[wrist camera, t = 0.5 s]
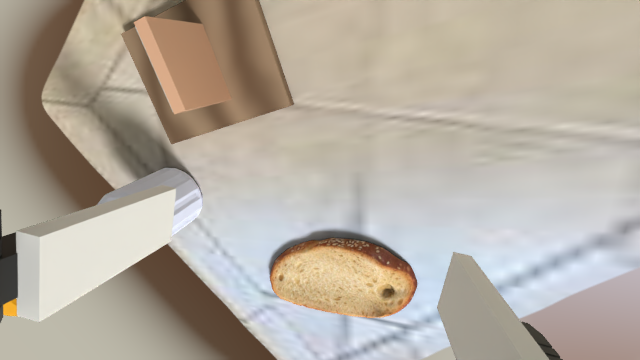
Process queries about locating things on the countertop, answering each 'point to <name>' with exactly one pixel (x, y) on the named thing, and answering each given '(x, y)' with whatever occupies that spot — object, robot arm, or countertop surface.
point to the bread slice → (344, 278)
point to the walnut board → (221, 66)
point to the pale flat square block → (183, 63)
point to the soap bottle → (186, 188)
